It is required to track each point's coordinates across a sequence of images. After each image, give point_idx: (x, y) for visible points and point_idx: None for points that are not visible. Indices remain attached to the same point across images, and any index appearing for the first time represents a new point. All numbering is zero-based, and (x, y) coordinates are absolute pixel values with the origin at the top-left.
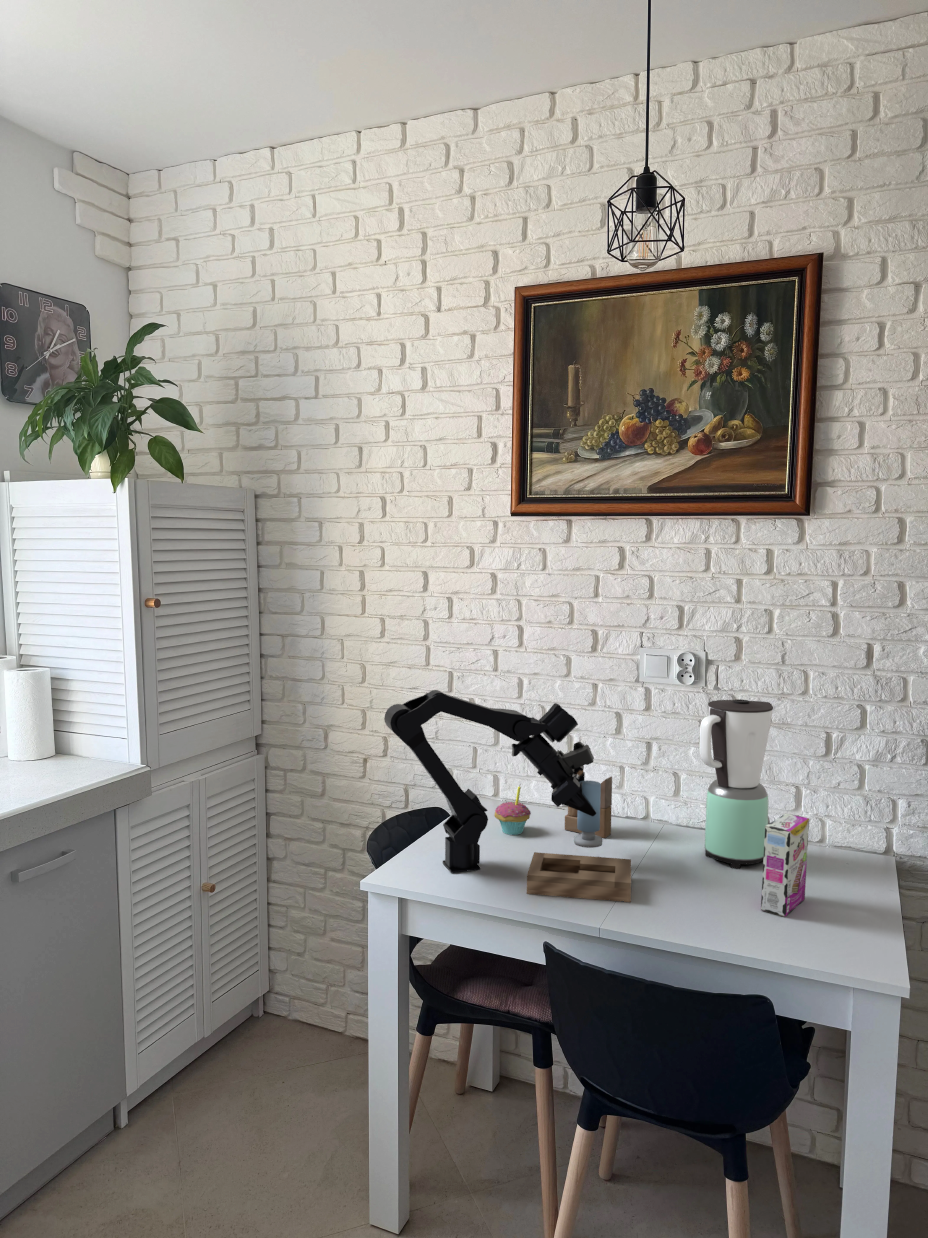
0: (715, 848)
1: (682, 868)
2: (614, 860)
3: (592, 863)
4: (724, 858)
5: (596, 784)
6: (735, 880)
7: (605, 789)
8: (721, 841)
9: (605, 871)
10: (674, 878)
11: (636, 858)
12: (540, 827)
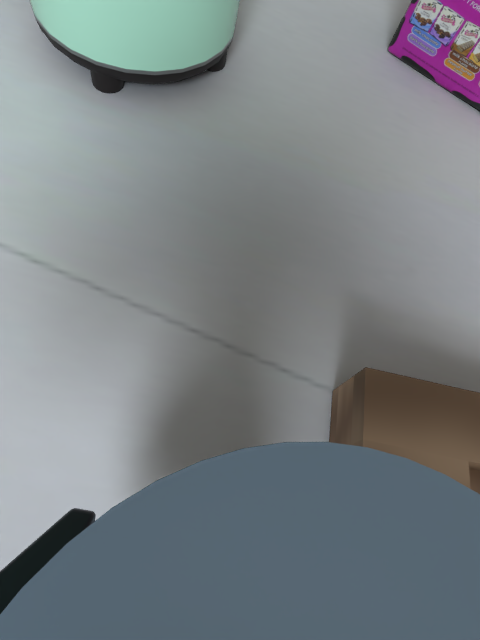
0: (191, 46)
1: (224, 193)
2: (396, 452)
3: None
4: (214, 59)
5: (425, 595)
6: (313, 99)
7: None
8: (214, 6)
9: None
10: (319, 243)
11: (110, 318)
12: None
